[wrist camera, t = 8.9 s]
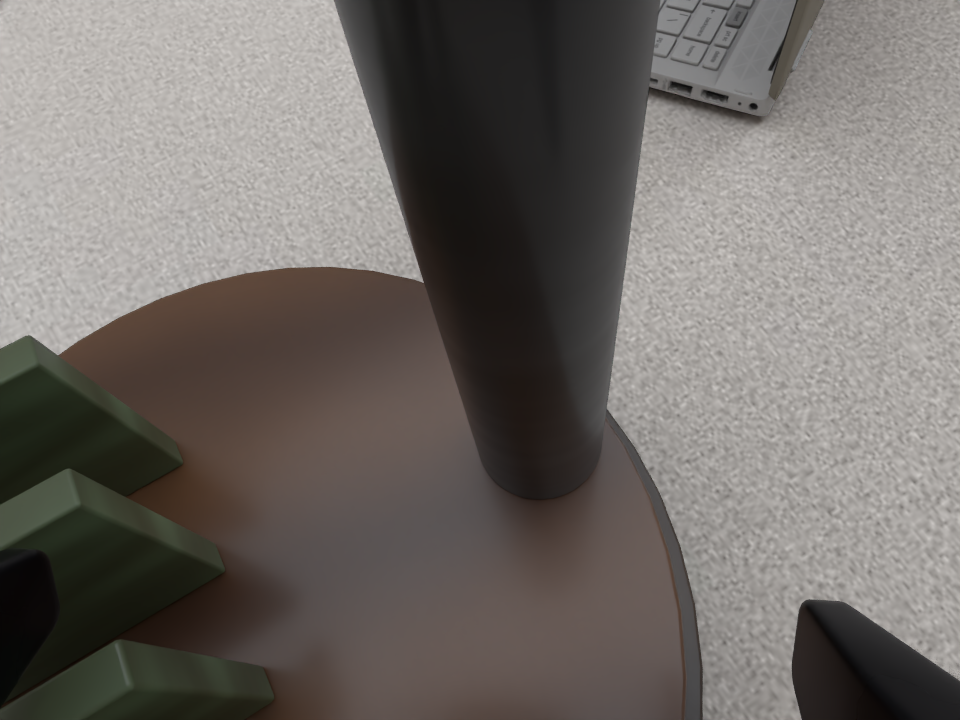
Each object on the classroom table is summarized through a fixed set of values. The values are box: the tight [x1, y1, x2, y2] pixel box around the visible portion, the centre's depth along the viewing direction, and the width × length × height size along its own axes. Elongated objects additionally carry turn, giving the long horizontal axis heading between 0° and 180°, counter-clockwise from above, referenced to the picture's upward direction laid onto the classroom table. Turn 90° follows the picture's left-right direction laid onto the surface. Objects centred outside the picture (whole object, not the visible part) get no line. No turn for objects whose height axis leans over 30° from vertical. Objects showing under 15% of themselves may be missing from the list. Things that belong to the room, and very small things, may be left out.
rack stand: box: [606, 410, 703, 720], centre depth 15 cm, size 18×18×1 cm
